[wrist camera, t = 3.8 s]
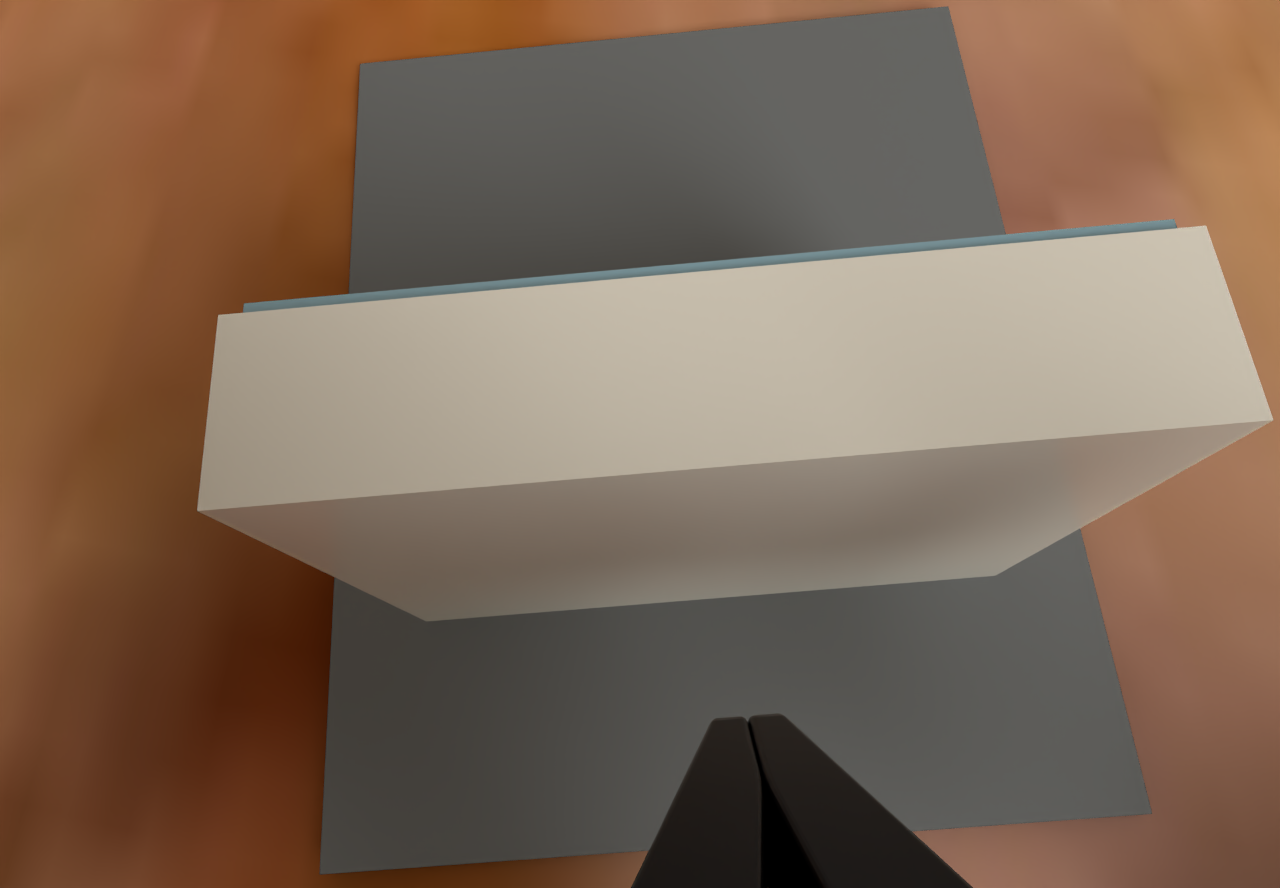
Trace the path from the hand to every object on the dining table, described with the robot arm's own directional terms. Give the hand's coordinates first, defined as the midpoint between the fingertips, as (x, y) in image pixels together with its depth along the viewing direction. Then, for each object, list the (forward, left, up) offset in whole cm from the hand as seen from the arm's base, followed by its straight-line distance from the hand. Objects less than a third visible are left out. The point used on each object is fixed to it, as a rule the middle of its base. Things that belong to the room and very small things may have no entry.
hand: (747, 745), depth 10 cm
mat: (+6, -6, -8) cm, 11 cm away
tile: (+3, -3, -8) cm, 9 cm away
